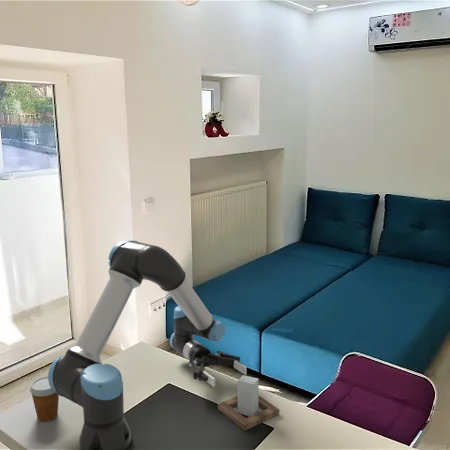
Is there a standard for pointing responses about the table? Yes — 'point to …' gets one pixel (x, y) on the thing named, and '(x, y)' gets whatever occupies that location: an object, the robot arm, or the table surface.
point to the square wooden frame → (249, 422)
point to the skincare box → (248, 395)
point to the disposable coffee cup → (44, 399)
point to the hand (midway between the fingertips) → (230, 376)
